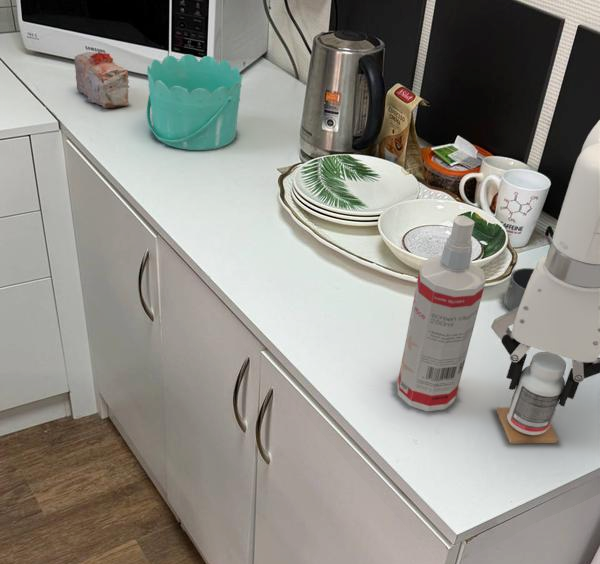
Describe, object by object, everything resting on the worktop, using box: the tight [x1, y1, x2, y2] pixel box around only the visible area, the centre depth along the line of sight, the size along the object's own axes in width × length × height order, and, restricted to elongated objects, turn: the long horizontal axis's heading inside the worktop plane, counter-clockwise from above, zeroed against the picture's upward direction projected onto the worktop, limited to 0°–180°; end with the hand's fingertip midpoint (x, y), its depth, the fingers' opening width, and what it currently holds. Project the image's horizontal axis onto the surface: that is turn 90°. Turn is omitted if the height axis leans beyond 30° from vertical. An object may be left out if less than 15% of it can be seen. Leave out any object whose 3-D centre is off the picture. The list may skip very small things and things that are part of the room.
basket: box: [146, 53, 243, 151], centre depth 161 cm, size 19×18×13 cm
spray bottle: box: [397, 214, 487, 412], centre depth 98 cm, size 8×8×25 cm
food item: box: [74, 51, 130, 109], centre depth 173 cm, size 14×8×10 cm, turn 41°
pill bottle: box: [507, 351, 567, 435], centre depth 98 cm, size 5×5×10 cm
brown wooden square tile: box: [496, 407, 558, 445], centre depth 102 cm, size 6×6×1 cm
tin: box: [503, 267, 535, 311], centre depth 123 cm, size 7×7×4 cm
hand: (538, 390), depth 98 cm, fingers closed on pill bottle, 5 cm apart
